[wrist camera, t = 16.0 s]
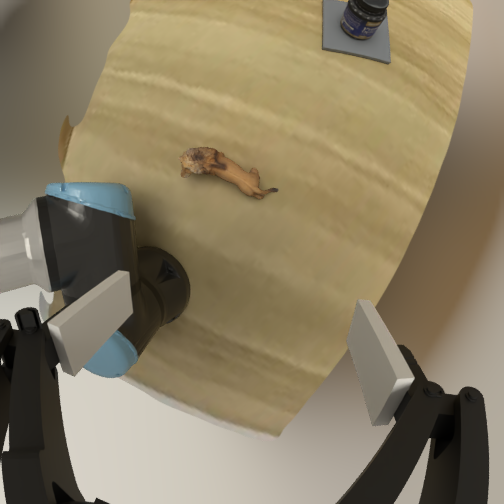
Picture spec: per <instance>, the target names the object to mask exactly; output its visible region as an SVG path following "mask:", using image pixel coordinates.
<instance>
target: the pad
mask: <svg viewBox="0 0 504 504" xmlns="http://www.w3.org/2000/svg"><path fill="white" fill-rule="evenodd" d="M347 3H348V2H343V1H338V0H323V40H322V50H328V51H334V52H339V53H344V54H349V55H354V56H359V57H363V58H367V59H371V60H375V61H379V62H383V63H386V64H389V63H391V60H390V42H389V30H388V20H387V16H386V18H385V19H384V20H383V22H382V23H381V25H380V26H379V27H378V29H377V30H376V32H375V33H374V34H373V36H372V37H371V38H369V39H367V40H357V39H354V38H352V37H350V36H349V35H347V34H346V33H345V32H344V31H343V29H342V27H341V18H342V15H343V13H344V11H345V8H346V6H347Z"/></svg>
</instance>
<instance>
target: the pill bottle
mask: <svg viewBox="0 0 504 504" xmlns="http://www.w3.org/2000/svg"><path fill="white" fill-rule="evenodd" d="M388 5H389V0H349V1H348V3H347V6H346V8H345V11H344V13H343V15H342V18H341V27H342V29H343V31H344V32H345V33H346V34H347V35H349V36H350V37H352V38H354V39H357V40H367V39H369V38H371V37H372V36H373V34H374V33H375V32H376V30H377V29H378V27H379V26H380V25H381V23H382V22H383V20H384V19H385V18H386V16H387V9H386V8H387V7H388Z"/></svg>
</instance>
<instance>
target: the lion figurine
mask: <svg viewBox="0 0 504 504" xmlns="http://www.w3.org/2000/svg"><path fill="white" fill-rule="evenodd" d="M178 159H179V160H180V161H181V163H182V171H181V176H182V177H183V178H185V177H189V176H190V174H191V173H197V174H201V173H202V174H210V175H217V176H218V177H220V178H222V179H224V180H226V181H228V182H231V183H234V184H236V185H237V186H238V187H239V189H240V190H241V191H242V192H243V193H245V194H246V195H247V196H253V197H256V198H258V199H262V198H263V197H264V194H267V193H269V192H277V191H278V189H276V188H271V189H268V190H265V191H262V190H260V189H259V187H258V186H259V179H260V177H259V174H258V171H257V169H256V168H252V169H251V171H250V172H249V173H248V172H245V171H244V170H243V169H242V168H241V167H240V166H239V165H237V164H236V163H234V162H233V161H232V160H230V159H228V158H226V157H224V154H223V153H222V152H218V151H217V150H216V149H213V148H208V147H200V148H189V149H188V150H187V151H185V152H184V153H183V155H182V156H181V157H179V158H178Z"/></svg>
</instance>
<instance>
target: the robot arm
mask: <svg viewBox="0 0 504 504" xmlns="http://www.w3.org/2000/svg"><path fill="white" fill-rule="evenodd" d="M45 194H47V196H44V197H38V198H34V199H33V200H32V201H31V203H30V204H29V206H28V207H27V209H26V210H25V211H24V212H23V213H22V214H18V215H14V216H9V217H5V218H1V219H0V293H3V292H7V291H10V290H14V289H17V288H21V287H24V286H28V285H31V284H36V285H38V286H40V287H42V288H43V289H44V290H46V291H47V292H54V291H58V290H61V291H62V295H63V299H64V303H65V307H63V308H62V309H61V311H60V310H59V311H58V312H57V313H56V314H54V315H53V316H51V317H50V318H49V319H47V320H46V321H45V322H44V323H42V324H41V320H40V317H39V313H38V310H37V309H36V308H32V307H30V308H29V307H27V308H23V309H21V310H19V311H18V312H17V313H16V314H15V319H16V322H17V326H18V328H19V330H15V329H12V326H11V323H10V321H9V320H6V319H0V462H1V463H2V475H3V483H4V492H5V498H6V504H109V503H107V502H105V501H103V500H100V499H98V498H96V500H95V502H94V503H93V502H86V501H85V499H84V497H83V496H82V494H81V493H80V491H79V489H78V487H77V483H76V481H75V477H74V473H73V469H72V465H71V461H70V457H69V452H68V448H67V443H66V437H65V432H64V426H63V420H62V412H61V405H60V396H59V385H58V372H57V369H56V365H57V364H58V363H59V362H60V364H61V367H62V370H63V372H66V373H68V374H70V375H72V376H76V374H77V373H78V372H79V371H80V370H81V369H82V368H85V369H86V370H88V371H90V372H91V373H93V374H96V375H99V376H102V377H106V378H115V377H120V376H122V375H124V374H125V373H126V372H127V371H128V370H129V369H130V367H131V366H132V365H133V364H135V363H136V362H137V360H138V358H139V356H140V355H141V353H142V352H143V350H144V349H145V347H146V346H147V344H148V343H149V342H150V340H151V339H152V337H153V336H154V334H155V333H156V331H157V330H158V329H159V327H161V326H163V325H165V324H167V323H169V322H172V321H173V320H175V319H176V318H177V317H179V316H180V314H181V313H182V312H183V310H184V309H185V307H186V306H187V304H188V301H189V297H190V284H189V280H188V277H187V274H186V272H185V270H184V269H183V267H182V266H181V264H180V263H179V262H178V261H177V260H176V259H175V258H174V257H173V256H172V255H170V254H169V253H167V252H166V251H164V250H161V249H159V248H155V247H141V248H138V249H137V245H136V233H135V220H136V218H135V216H134V212H133V204H132V195H131V192H130V190H129V189H128V188H127V187H126V186H125V185H123V184H119V183H98V182H73V183H50V184H48V185H47V188H46V190H45ZM346 341H347V344H348V347H349V350H350V353H351V356H352V359H353V362H354V366H355V369H356V372H357V375H358V378H359V382H360V384H361V388H362V392H363V395H364V398H365V402H366V405H367V409H368V412H369V416H370V419H371V423H372V426H378V425H388V424H389V422H390V421H391V419H392V417H393V416H394V417H395V420H396V424H395V425H394V427H393V428H392V430H391V431H390V433H389V434H388V436H387V437H386V439H385V441H384V442H383V444H382V445H381V447H380V448H379V450H378V451H377V453H376V454H375V455H374V457H373V458H372V460H371V461H370V462H369V464H368V465H367V467H366V468H365V469H364V470H363V472H362V473H361V474H360V476H359V477H358V478H357V479H356V481H355V482H354V483H353V484H352V486H351V487H350V488H349V489H348V490H347V491H346V493H345V494H344V495H343V496H342V497H341V499H340V500H339V501H338V502H337V503H336V504H394V502H395V501H396V499H397V497H398V496H399V494H400V493H401V491H402V489H403V488H404V486H405V484H406V482H407V481H408V479H409V477H410V475H411V473H412V471H413V470H414V468H415V466H416V464H417V462H418V460H419V458H420V456H421V454H422V451H423V449H424V447H425V445H426V443H427V441H428V439H429V438H431V444H430V451H429V458H428V464H427V470H426V475H425V480H424V485H423V489H422V493H421V498H420V501H419V504H487V501H488V486H489V446H488V431H487V420H486V412H485V404H484V398H483V395H482V394H481V393H480V391H478V390H477V389H475V388H473V387H464V388H462V389H461V390H460V392H459V394H458V395H452V394H445V393H444V390H443V389H442V388H441V386H440V385H438V384H436V383H434V382H431V381H428V380H427V378H426V377H425V375H424V373H423V372H422V370H421V368H420V366H419V365H418V364H417V361H416V359H414V356H413V355H412V353H411V351H410V350H409V349H408V348H406V347H405V346H404V345H396V343H395V341H394V339H393V338H392V336H391V334H390V333H389V331H388V329H387V327H386V326H385V324H384V322H383V321H382V319H381V317H380V316H379V314H378V313H377V311H376V309H375V307H374V306H373V304H372V303H371V301H370V300H360V299H358V300H357V304H356V308H355V311H354V315H353V319H352V323H351V326H350V330H349V333H348V337H347V340H346ZM1 358H2V360H3V365H1ZM8 424H9V451H3V446H4V441H5V436H6V432H7V428H8ZM2 451H3V453H2Z"/></svg>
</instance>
